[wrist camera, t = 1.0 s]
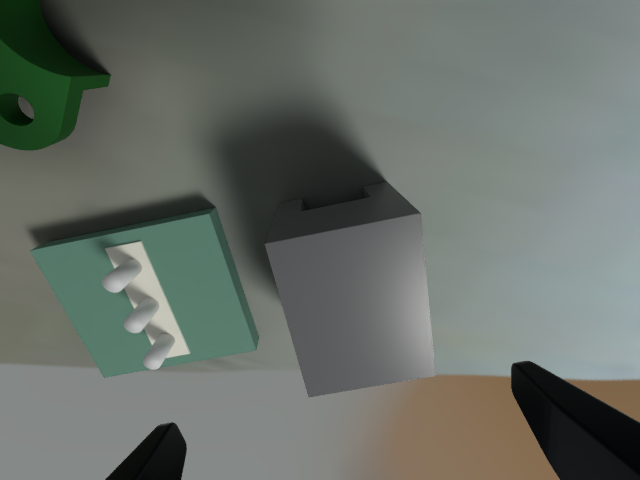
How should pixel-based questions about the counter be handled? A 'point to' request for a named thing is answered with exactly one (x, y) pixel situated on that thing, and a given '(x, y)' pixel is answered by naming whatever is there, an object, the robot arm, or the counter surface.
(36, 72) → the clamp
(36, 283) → the counter surface
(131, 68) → the counter surface
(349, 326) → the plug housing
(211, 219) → the pin board
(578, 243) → the counter surface
